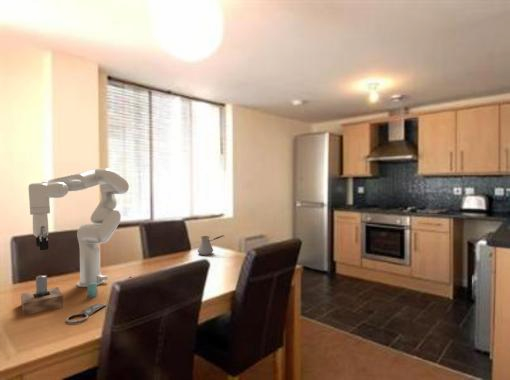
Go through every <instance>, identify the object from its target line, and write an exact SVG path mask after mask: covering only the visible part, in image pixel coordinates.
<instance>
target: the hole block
mask: <svg viewBox="0 0 510 380" xmlns="http://www.w3.org/2000/svg"><path fill="white" fill-rule="evenodd" d="M20 295H21V296H20V297H21V298H20V301H21V302H20V303H21V308H22V314H23V316H27V315H32V314H37V313H41V312H46V311H50V310H56V309H59V308H63V307H64V295H63V293H62V292H61V290H60V289H59V287H51V288H47V296H43V297H38V298H36V290H34V291H30V292H24V293H21V294H20Z"/></svg>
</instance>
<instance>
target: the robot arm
mask: <svg viewBox="0 0 510 380" xmlns="http://www.w3.org/2000/svg"><path fill="white" fill-rule="evenodd" d="M98 185H99V188H100V189H99V190H100V194H101V199H100V202H99V203H98V205H97V206H96V207H95V209H94V211H93V212H92V213H91V216H90V222H91V223H92V224H91V223H87V224H82V225H81V226H80V227H79V228H78V230H77V232H76V235H77V242H78V245H79V246H78V247H79V274H80V275H79V279H80V280H78V281H77V282H76V286H77V287H80V288H88V283H92V282H96V283H97V286H99V285H101V284H103V283H104V281H108V280H109V275H107V274H106V275H103V273H102V272H101V255H100V254H101V250H100V245H99V244H105V243H107V242H108V241H109V240H110V239H111V238H112V236H113V235H114V233H115V232H116V230H117V228H118V226H119V224H120V223H121V218H122V217H121V212H120V211H119V210H118V209H116V206H117V199H116V195H124V194H126V193H128V191H129V188H130V186H129V183H128V181H127V180H126V179H125V178H124V177H123V176H121V175H120V174H118V173H117V172H115V171H114V170H112V169H110V168H95V169H94V168H93V169H90V170H86V171H82V172H79V173H75V174H70V175H67V176H61V177H56V178H52V179H48V180H45V181H42V182H35V183H30V184H29V185H28V198H29V199H28V200H29V202H28V203H29V215H31V216H32V234H33V236H35V243H36V244H35V245H36V247H39V250H40V251H47V250H49V248H50V247H49V239H48V235H49V217H48V214H51V205H50V199H60V198H64V197H66V196H67V194H68V193H69V192H77V191H83V190H87V189H88V188H92V187H95V186H98Z"/></svg>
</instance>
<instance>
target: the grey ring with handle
mask: <svg viewBox="0 0 510 380" xmlns="http://www.w3.org/2000/svg"><path fill="white" fill-rule="evenodd" d="M106 305H107V304H100V303H95V304H92V305H89V306H88V307H86V308H84V309H83V310H82V311H79V312H78V313H76V314H72V315H68V317H67V318H66V320H65V321H66V323H67V324H68V325H77V324H81V323H84V322H86V321H87V320H88V319H89V317H90V316H92V315H93V314H94V313H95V312H97V311H98V310H100V309H102V308H103V307H104V308H106V307H107V306H106ZM79 317H82V318H81V319H77V320H72V319H76V318H79Z"/></svg>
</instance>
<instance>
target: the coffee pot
mask: <svg viewBox="0 0 510 380" xmlns="http://www.w3.org/2000/svg"><path fill="white" fill-rule="evenodd" d="M224 237H225V235H224V234H222V235H220V236H216V237H214V238H212V239H210V236H208V235H203V236H200V238H201V240H200V244H199V246H198V248H197V253H198V254H200V256H210V255H211V254H212V253H214V248H213V246H212V244H211V242H212V241H215V240H218V239H220V238H224Z"/></svg>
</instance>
